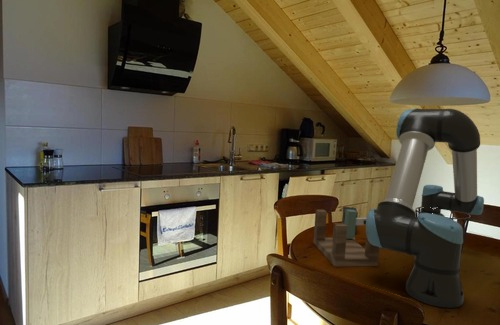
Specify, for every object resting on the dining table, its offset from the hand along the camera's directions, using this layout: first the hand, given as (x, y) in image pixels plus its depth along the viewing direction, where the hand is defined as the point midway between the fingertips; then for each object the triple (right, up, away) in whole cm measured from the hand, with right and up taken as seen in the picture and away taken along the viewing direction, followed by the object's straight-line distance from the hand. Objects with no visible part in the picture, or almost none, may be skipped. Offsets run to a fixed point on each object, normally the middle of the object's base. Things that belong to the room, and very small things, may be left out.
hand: (355, 221), depth 145 cm
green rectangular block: (-3, -7, +1) cm, 7 cm away
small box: (+3, -8, +22) cm, 23 cm away
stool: (-8, -11, -10) cm, 17 cm away
